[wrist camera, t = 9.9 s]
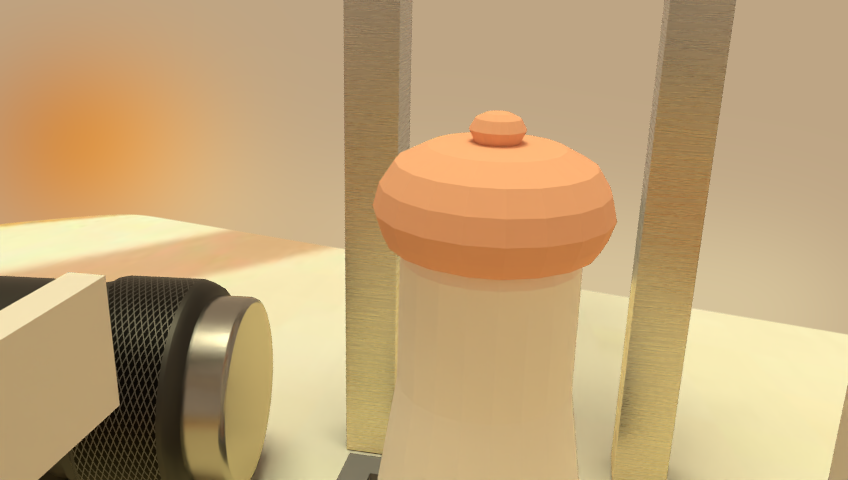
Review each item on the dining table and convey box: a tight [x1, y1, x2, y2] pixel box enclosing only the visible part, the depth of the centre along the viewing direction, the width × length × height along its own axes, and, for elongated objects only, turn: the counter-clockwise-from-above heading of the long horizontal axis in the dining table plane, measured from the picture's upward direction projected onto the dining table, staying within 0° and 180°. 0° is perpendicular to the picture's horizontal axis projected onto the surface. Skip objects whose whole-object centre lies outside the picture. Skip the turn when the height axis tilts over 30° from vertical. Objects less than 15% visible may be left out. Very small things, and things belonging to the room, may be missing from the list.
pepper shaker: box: [373, 111, 617, 480], centre depth 26 cm, size 7×7×19 cm
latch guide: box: [344, 0, 736, 480], centre depth 35 cm, size 2×15×29 cm, turn 79°
